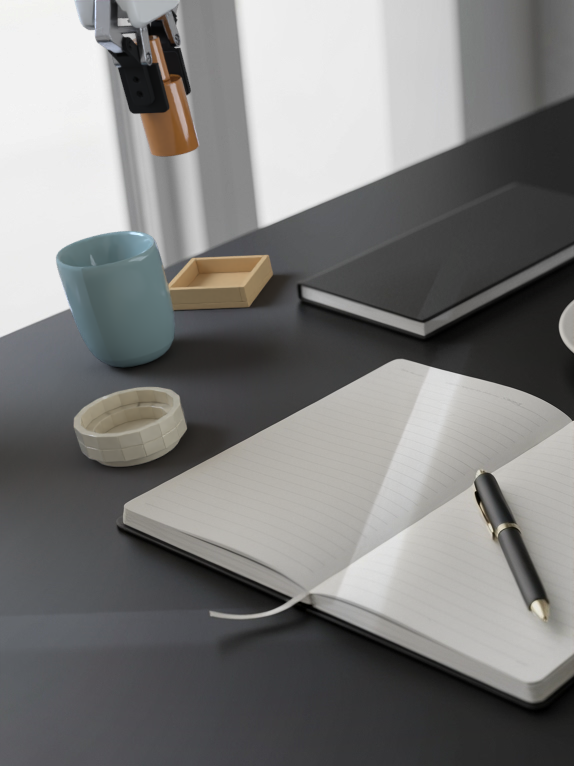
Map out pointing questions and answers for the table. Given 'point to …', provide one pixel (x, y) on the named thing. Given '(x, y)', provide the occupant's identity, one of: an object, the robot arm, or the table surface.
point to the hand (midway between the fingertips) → (161, 101)
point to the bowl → (131, 426)
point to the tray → (220, 282)
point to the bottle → (169, 114)
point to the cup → (119, 296)
